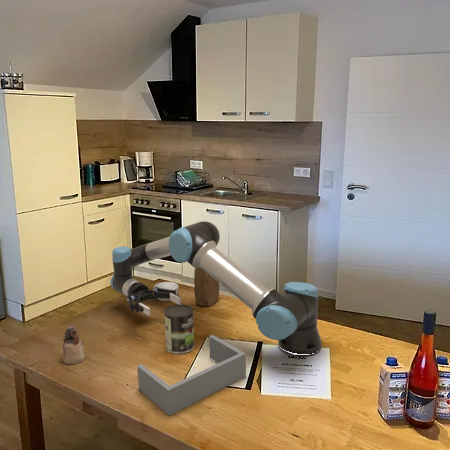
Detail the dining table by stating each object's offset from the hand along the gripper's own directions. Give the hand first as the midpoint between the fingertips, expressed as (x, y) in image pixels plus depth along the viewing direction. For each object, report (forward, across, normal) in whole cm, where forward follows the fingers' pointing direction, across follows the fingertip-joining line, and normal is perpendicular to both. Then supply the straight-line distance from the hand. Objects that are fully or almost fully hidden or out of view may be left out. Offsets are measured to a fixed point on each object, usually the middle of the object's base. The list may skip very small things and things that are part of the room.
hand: (165, 306), depth 169 cm
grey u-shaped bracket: (+31, +11, -12) cm, 35 cm away
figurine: (-8, +33, -12) cm, 36 cm away
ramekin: (-31, -21, -12) cm, 39 cm away
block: (-14, -31, -12) cm, 36 cm away
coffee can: (+10, +1, -12) cm, 16 cm away
